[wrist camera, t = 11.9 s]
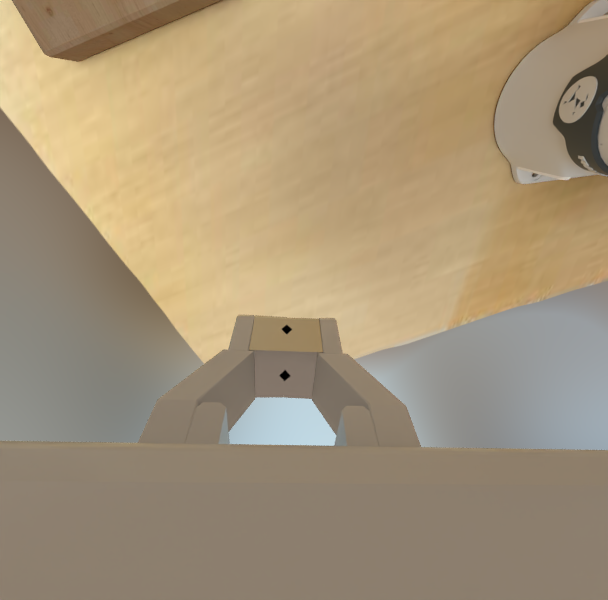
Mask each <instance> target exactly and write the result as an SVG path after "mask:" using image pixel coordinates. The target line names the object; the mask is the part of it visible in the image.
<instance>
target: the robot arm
mask: <svg viewBox="0 0 608 600" xmlns="http://www.w3.org/2000/svg"><path fill="white" fill-rule="evenodd" d="M604 14H605V15H604ZM494 130H495V137H496V141H497V144H498V147H499V149H500V150H501V152H502V153H503V155H504V156H505V157H506V158H507V159H508V161H509V162H510V164H511V169H512V174H513V178H514V180H515V182H517V183H520V184H530V183H538V182H545V181H553V180H569V179H570V178H576V177H584V176H592V175H602V176H607V177H608V0H594V1H592V2H591V3H589V4H588V5H587V6H586V7H584V8H583V9H582V10H581V11H580V12H579V14H578V15H577V16H576V17H575V18H574V19H573V20H572V21H571V22H570V23H569V25H568V26H566V27H565V28H564V29H562V30H561V31H559V32H558V33H556V34H554V35H552V36H551V37H549V38H547V39H546V40H544V41H543V42H542V43H540V44H539V45H538V46H536V47H535V48H534V49H533V50H532V51H531V52H530V53H529V54H528V55H527V56H526V57H525V58H524V59H523V60H522V61H521V62H520V63H519V65H518V66H517V67H516V69H515V70H514V71H513V73H512V74H511V76H510V77H509V79H508V81H507V83H506V85H505V87H504V89H503V91H502V93H501V96H500V98H499V101H498V104H497V108H496V113H495V121H494ZM533 173H535V174H534V175H533V176H532V174H533ZM255 397H288V398H309V399H312V401H313V402H314V404H315V405H316V406H317V408H318V410H319V411H320V412H321V414H322V415H323V417H324V418H325V420H326V421H327V422H328V424H329V425H330V427H331V428H332V430H333V431H334V433H335V434H336V441H335V445H334V446H309V445H308V446H307V445H245V444H244V445H243V444H239V445H238V444H229V434H228V432H229V431H230V430H231V428H232V427H233V426H234V425H235V423H236V422H237V421H238V419H239V418H240V417H241V416H242V414H243V413H244V412H245V411H246V409H247V408H248V407H249V406H250V404H251V403H252V402H253V401H254V400H255ZM0 600H608V450H565V449H564V450H563V449H501V448H437V447H436V448H435V447H421V445H420V443H419V440H418V437H417V435H416V432H415V429H414V426H413V423H412V421H411V418H410V415H409V413H408V410H407V407H406V406H405V405H404V404H403V403H402V402H401V401H400V400H399V399H397V398H396V397H395V396H394V395H393V394H392V393H391V392H390V391H388V390H387V389H386V388H385V387H384V386H383V385H382V384H381V383H380V382H378V381H377V380H376V379H375V378H374V377H373V376H372V375H371V374H369V373H368V372H367V371H366V370H365V369H364V368H363V367H362V366H361V365H359V364H358V363H357V362H356V361H355V360H354V359H353V358H352V357H350V356H349V355H348V354H343V353H342V348H341V342H340V337H339V332H338V327H337V322H336V320H335V318H319V319H312V318H287V317H273V316H257V315H255V316H254V315H238V316H237V318H236V322H235V326H234V330H233V334H232V338H231V341H230V345H229V349H228V350H222V351H221V352H220V353H218V354H217V355H216V356H214V357H213V358H212V359H210V360H209V361H208V362H206V363H205V364H204V365H202V366H201V367H200V368H199V369H197V370H196V371H195V372H193V373H192V374H191V375H189V376H188V377H187V378H185V379H184V380H183V381H181V382H180V383H179V384H178V385H176V386H175V387H174V388H172V389H171V390H170V391H168V392H167V393H166V394H165V395H163V396H162V397H160V398H159V399H158V400H157V402H156V404H155V407H154V409H153V411H152V413H151V415H150V418H149V420H148V422H147V424H146V426H145V428H144V431H143V433H142V435H141V437H140V439H139V442H138V443H114V442H113V443H112V442H108V443H107V442H49V441H43V442H42V441H0Z"/></svg>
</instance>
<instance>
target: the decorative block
mask: <svg viewBox="0 0 608 600" xmlns="http://www.w3.org/2000/svg"><path fill="white" fill-rule="evenodd" d="M12 1H13V3H14V5H15V6H16V8H17V9H18V11H19V13H20V14H21V16H22V18H23V19H24V21H25V23H26V24H27V26H28V28H29V29H30V31H31V33H32V34H33V36H34V38H35V39H36V41H37V43H38V44H39V46H40V48H41V49H42V51H43V53H44V54H46V55H47V56H49V57H54V58H60V59H66V60H72V61H81V60H83V59H85V58H88V57H90V56H92V55H95V54H97V53H99V52H102V51H104V50H106V49H109V48H111V47H113V46H116V45H118V44H120V43H123V42H125V41H127V40H130V39H132V38H134V37H137V36H139V35H141V34H144V33H146V32H148V31H151V30H153V29H155V28H158V27H160V26H162V25H165V24H167V23H169V22H172V21H174V20H176V19H179V18H181V17H183V16H185V15H188V14H190V13H192V12H195V11H197V10H199V9H202V8H204V7H206V6H209V5H211V4H213V3H216V2H218V1H220V0H12Z"/></svg>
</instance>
